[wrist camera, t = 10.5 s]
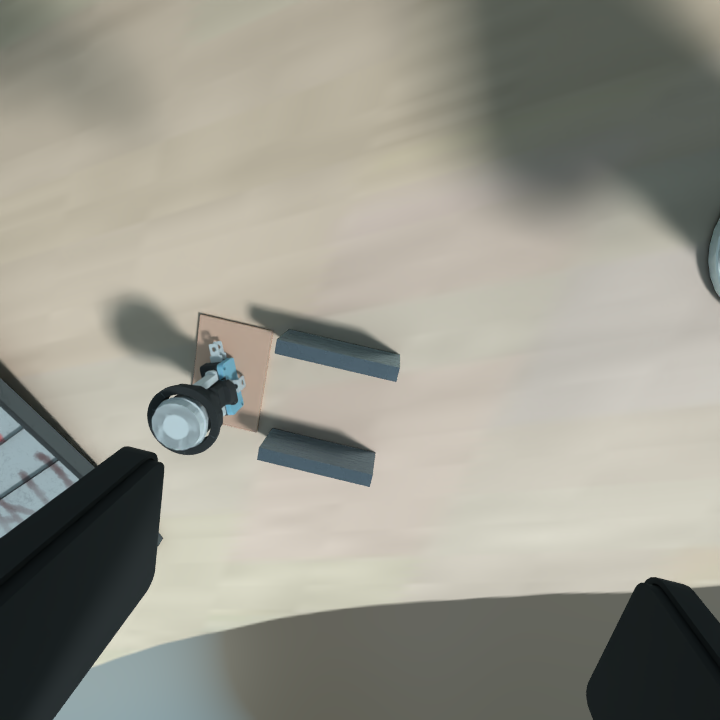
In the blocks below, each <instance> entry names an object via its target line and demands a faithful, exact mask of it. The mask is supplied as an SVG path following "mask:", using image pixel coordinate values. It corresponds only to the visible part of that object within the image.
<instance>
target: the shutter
mask: <svg viewBox="0 0 720 720" xmlns="http://www.w3.org/2000/svg"><path fill="white" fill-rule="evenodd" d="M23 428H24V429H23ZM20 430H21V431H20ZM19 431H20V432H19ZM17 432H18V433H17ZM16 433H17V434H16ZM13 435H14V436H13ZM12 436H13V437H12ZM10 437H11V438H10ZM9 438H10V439H9ZM6 440H7V441H6ZM5 441H6V442H5ZM3 442H4V443H3ZM2 443H3V444H2ZM47 467H48V468H47ZM94 468H95V467H94V466H93V465H92V464H91V463H90V462H89V461H87V460H86V459H85V458H84V457H83V456H82V455H81V454H80V453H79V452H78V451H77V450H76V449H75V448H74V447H73V446H72V445H71V444H70V443H68V442H67V441H66V440H65V439H64V438H63V437H62V436H61V435H60V434H59V433H58V432H57V431H56V430H55V429H54V428H53V427H52V426H51V425H49V424H48V423H47V422H46V421H45V420H44V419H43V418H42V417H41V416H40V415H39V414H38V413H37V412H36V411H35V410H34V409H33V408H32V407H31V406H29V405H28V404H27V403H26V402H25V401H24V400H23V399H22V398H21V397H20V396H19V395H18V394H17V393H16V392H15V391H14V390H13V389H12V388H10V387H9V386H8V385H7V384H6V383H5V382H4V381H3V380H2V379H1V378H0V538H1V537H2V536H4V535H5V534H7V533H8V532H9V531H11V530H12V529H13V528H15V527H16V526H17V525H19V524H20V523H21V522H23V521H24V520H25V519H27V518H28V517H29V516H31V515H32V514H33V513H35V512H36V511H38V510H39V509H40V508H42V507H43V506H44V505H46V504H47V503H48V502H50V501H51V500H52V499H54V498H55V497H56V496H58V495H59V494H60V493H62V492H63V491H65V490H66V489H67V488H69V487H70V486H71V485H73V484H74V483H75V482H77V481H78V480H79V479H81V478H82V477H83V476H85V475H86V474H87V473H89V472H90V471H92V470H93V469H94ZM44 469H45V470H44ZM7 494H8V495H7ZM4 496H5V497H4ZM162 539H163V537H162V536H161V535H160V534H159V533H158V544H157V547H158V546H159V544H160V542H161V541H162Z"/></svg>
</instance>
